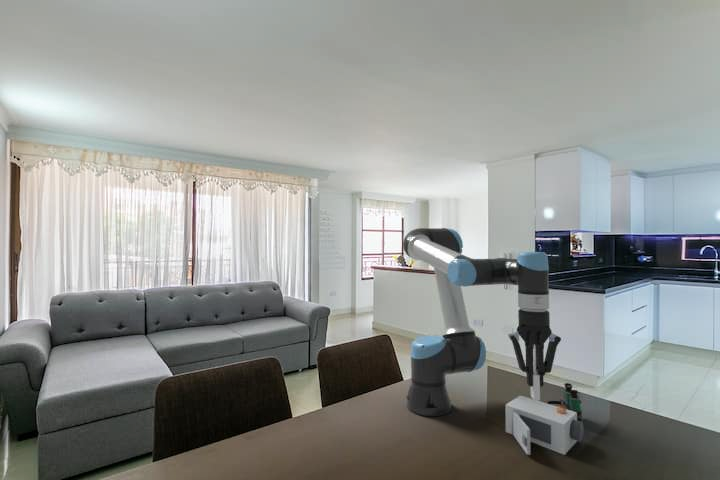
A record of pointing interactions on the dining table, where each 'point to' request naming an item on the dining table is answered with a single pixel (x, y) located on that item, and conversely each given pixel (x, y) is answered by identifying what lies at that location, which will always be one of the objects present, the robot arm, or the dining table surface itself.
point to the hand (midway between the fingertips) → (535, 398)
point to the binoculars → (570, 401)
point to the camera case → (546, 423)
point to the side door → (521, 432)
